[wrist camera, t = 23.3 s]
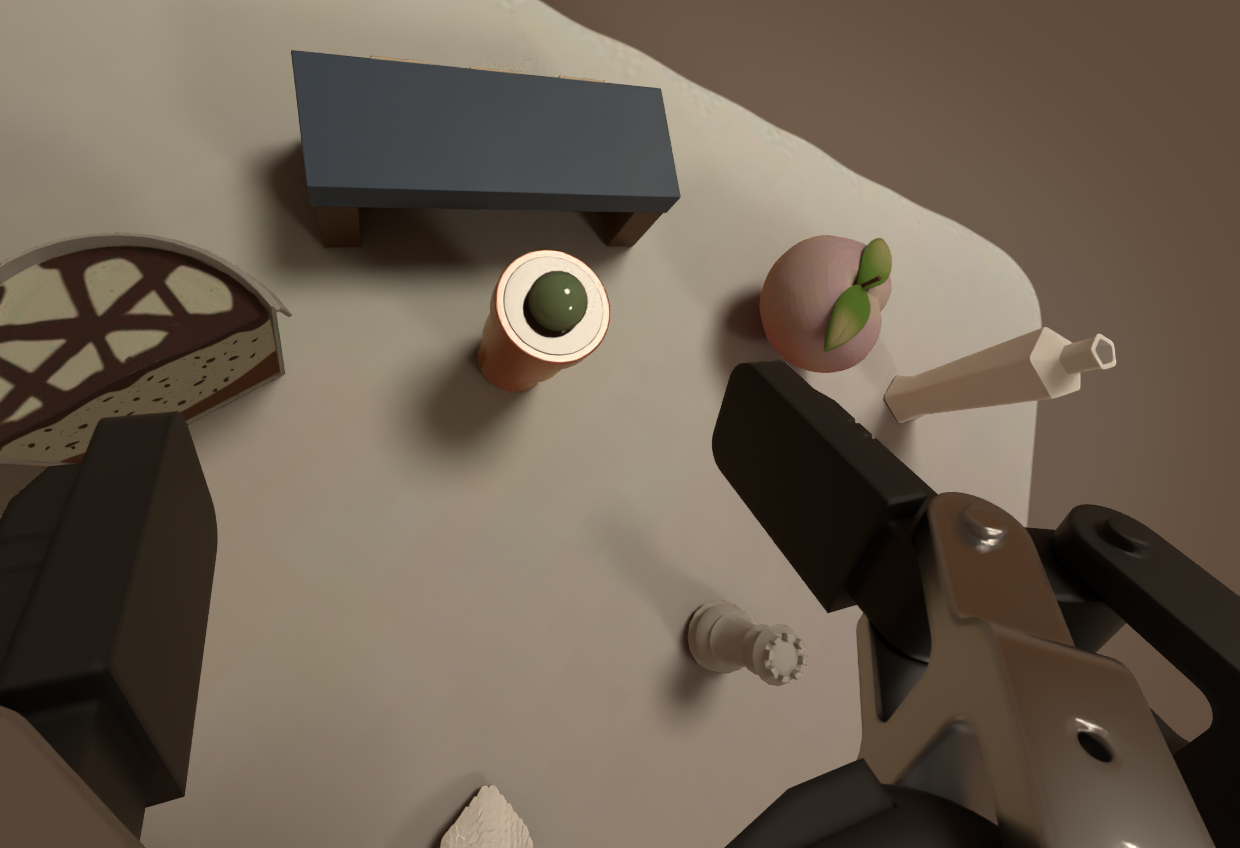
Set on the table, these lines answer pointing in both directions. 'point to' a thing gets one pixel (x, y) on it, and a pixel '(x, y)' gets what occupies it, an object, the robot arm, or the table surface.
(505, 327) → the pot
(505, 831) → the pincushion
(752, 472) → the robot arm
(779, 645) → the rook chess piece
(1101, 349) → the perfume bottle
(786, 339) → the decorative fruit
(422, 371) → the table surface
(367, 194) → the dark blue bench
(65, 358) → the wedge shaped tart
